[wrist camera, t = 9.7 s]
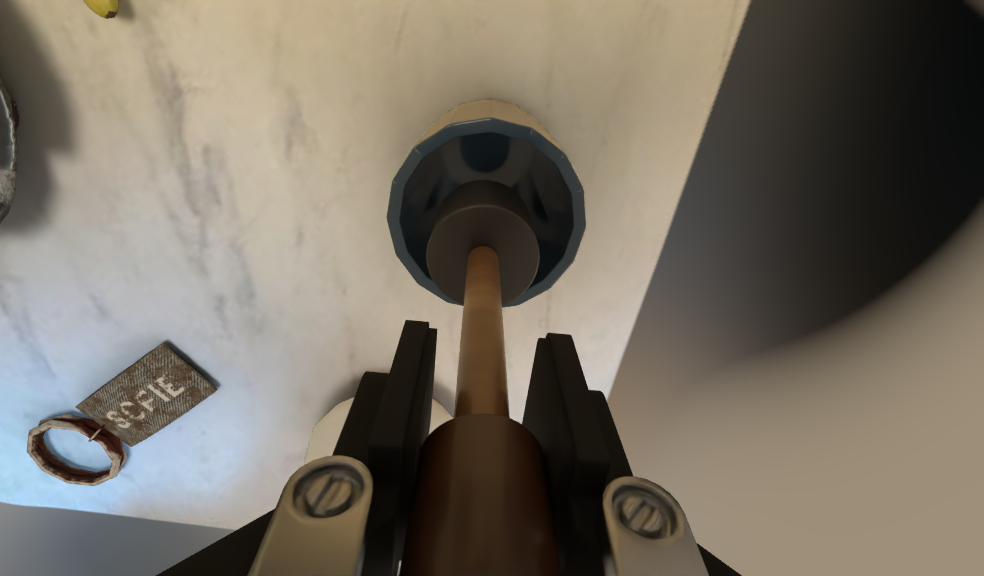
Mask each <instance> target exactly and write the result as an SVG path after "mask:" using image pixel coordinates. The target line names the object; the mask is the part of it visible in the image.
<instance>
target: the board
mask: <svg viewBox="0 0 984 576" xmlns="http://www.w3.org/2000/svg"><path fill="white" fill-rule="evenodd" d="M14 103H15V102H14V101H13V99H11V97H10V95H9V94H8V93H7V91H6V90H5V88H4V86H3V83H2V80H1V78H0V224H1V222H2V221H3V220H4V218H5V217H6V216H7V214H8V213H9V211H10V208H11V205H12V202H13V199H14V194H15V189H16V171H17V170H16V167H17V150H18V145H17V136H16V129H17V127H18V125H19V123H18V122H19V114H18V111H17V107H16V106H15V105H14Z"/></svg>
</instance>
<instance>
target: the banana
mask: <svg viewBox="0 0 984 576" xmlns="http://www.w3.org/2000/svg"><path fill="white" fill-rule="evenodd" d="M83 1H84V2H85V3H86V5H87V6H88V7H89V8H90V9H91V10H92V11H93V12H94V13H96V14H98V15H99V16H101V17H104V18H107V19H108V18H113V17H115V15H117V11H118V0H83Z"/></svg>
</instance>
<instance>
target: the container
mask: <svg viewBox="0 0 984 576" xmlns="http://www.w3.org/2000/svg"><path fill="white" fill-rule="evenodd" d="M475 180H491V181H496V182H499V183H502V184H504V185H506V186H508V187H509V188H511V189H512V190H514V191H515V192H516V193H517V194H518V195H519V196H520V197H521V198H522V200H523V201H524V203H525V205H526V207H527V209H528V212H529V215H530V218H531V222H532V225H533V229H534V232H535V235H536V239H537V242H538V247H539V256H540V259H539V266H538V270H537V273H536V276H535V278H534V280H533V282H532V283H531V285H530V286H529V287H528V289H527V290H526V291H525V292H524V293H523V294H522V295H521V296H519V297H518V298H517V299H515V300H514V301H512V302H510V303H508V304H506V305H503V306H502V307H510V306H517V305H520V304H522V303H523V302H525V301H527V300H529V299H531V298H533V297H535V296H537V295H539V294H541V293H543V292H544V291H546V290H548V289H549V288H551V287H552V286H553V284H554V283H555V282H556V281H557V280H558V279H559V278H560V277H561V275H562V274H563V273H564V272H565V271H566V270H567V269H568V268H569V266H570V265H571V264H572V263H573V261H574V260H575V257H576V254H577V251H578V248H579V246H580V243H581V240H582V237H583V234H584V231H585V229H586V219H585V202H584V190H583V187H582V185H581V183H580V181H579V179H578V177H577V175H576V173H575V171H574V169H573V167H572V165H571V164H570V162H569V160H568V158H567V156H566V154H565V153H564V152H563V151H562V149H561V148H560V147H559V146H558V145H557V143H556V142H555V141H554V140H553V139H552V137H551V136H550V135H549V134H548V133H547V131H546V130H545V129H544V128H543V126H542V125H541V124H540V123H539V122H537V121H536V120H535V119H534V118H533V117H531V116H530V115H529V114H528V113H526V112H525V111H524V110H523V109H521V108H520V107H518V106H516V105H513V104H510V103H507V102H504V101H499V100H494V99H483V100H474V101H470V102H466V103H462V104H459V105H458V106H456V107H455V108H453V109H451V110H450V111H448V112H447V113H446V114H444V115H443V116H441V117H440V118H438V119H437V120H436V121H435V122H434V124H433V125H432V126H431V127H430V128H429V130H428V131H427V132H426V133H425V134H424V136H423V137H422V138H421V139H420V140H419V142H418V143H417V144H416V145H415V147H414V148H413V149H412V151H411V152H410V154H409V155H408V157H407V159H406V160H405V162H404V163H403V165H402V166H401V168H400V169H399V171H398V172H397V174H396V176H395V177H394V179H393V181H392V186H391V192H390V199H389V205H388V212H387V222H388V226H389V230H390V234H391V237H392V241H393V245H394V249H395V253H396V255H397V257H398V258H399V259H400V261H401V262H402V263H403V265H404V266H405V267H406V269H407V270H408V271H409V273H410V274H411V275H412V277H413V278H414V279H415V281H416V282H417V283H418V284H419V285H421V286H422V287H424V288H425V289H427V290H429V291H430V292H432V293H433V294H435V295H437V296H438V297H440V298H441V299H443V300H444V301H446V302H449V303H452V304H457V305H461V304H458V303H456V302H455V301H453V300H451V299H450V298H448V297H447V296H446V295H444V294H443V293H442V292H441V291H440V290H439V288H438V287H437V286H436V285H435V283H434V281H433V280H432V278H431V276H430V273H429V270H428V266H427V256H426V253H427V246H428V242H429V239H430V236H431V232H432V229H433V226H434V223H435V220H436V216H437V213H438V210H439V208H440V205H441V204H442V202H443V200H444V199H445V198H446V197H447V195H448V194H449V193H450V192H451V191H453V190H454V189H455V188H457V187H458V186H460V185H462V184H465V183H467V182H471V181H475ZM462 306H463V305H462Z"/></svg>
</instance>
